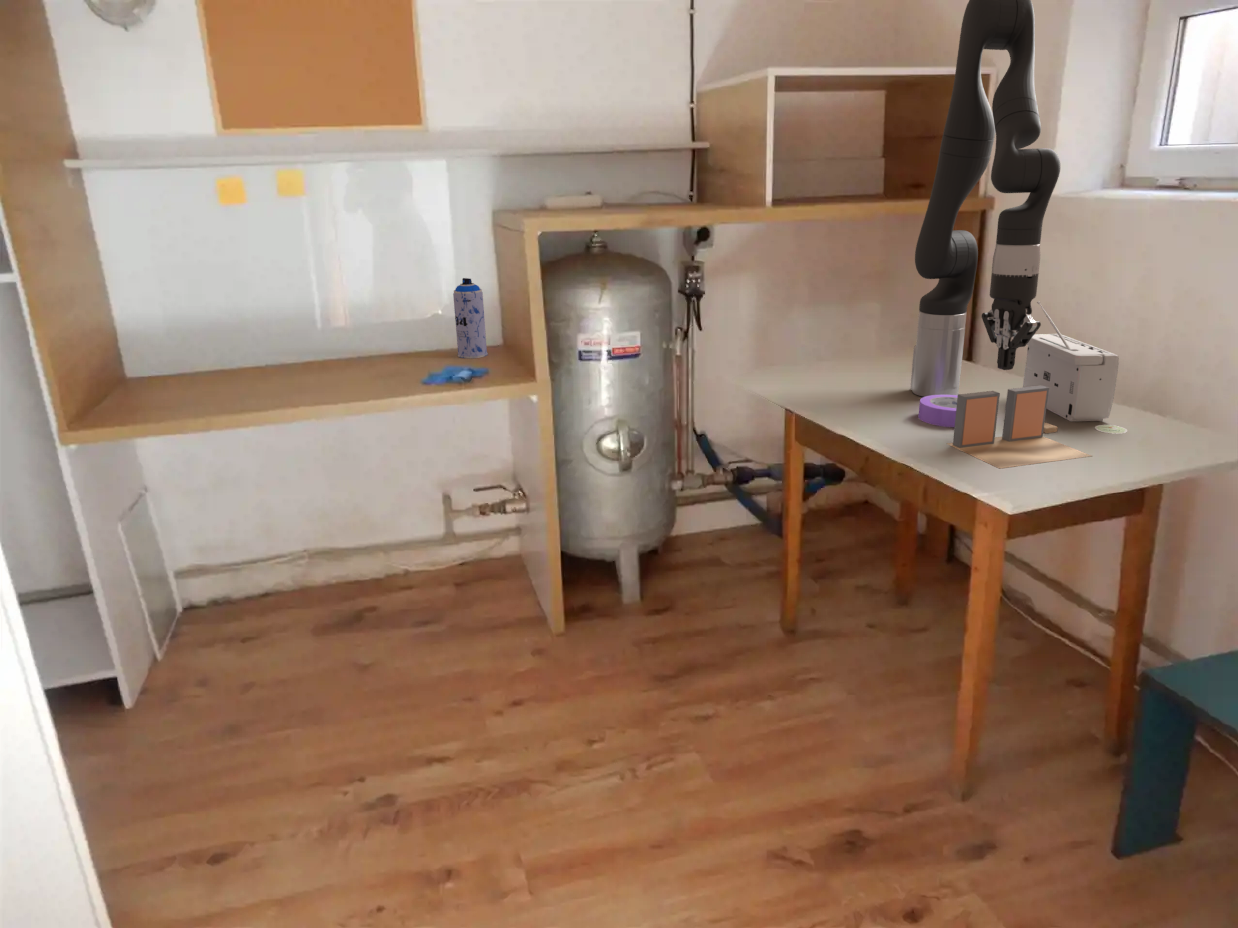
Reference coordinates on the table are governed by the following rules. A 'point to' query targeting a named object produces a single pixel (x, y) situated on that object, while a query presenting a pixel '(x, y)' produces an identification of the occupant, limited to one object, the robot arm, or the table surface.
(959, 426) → the slate tile near
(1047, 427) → the wooden turner
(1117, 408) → the table surface
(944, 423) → the masking tape
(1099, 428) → the sign
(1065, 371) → the stereo radio cassette player
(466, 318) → the aerosol can
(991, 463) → the cork mat
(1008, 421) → the slate tile far
